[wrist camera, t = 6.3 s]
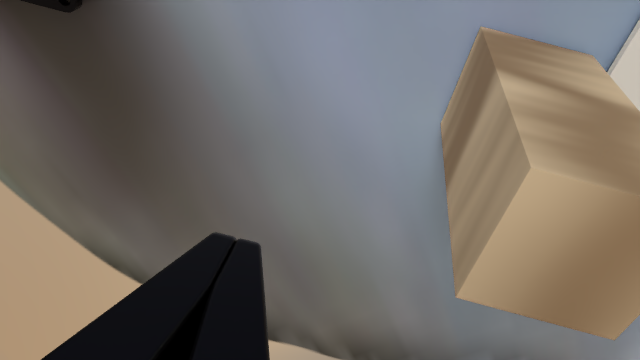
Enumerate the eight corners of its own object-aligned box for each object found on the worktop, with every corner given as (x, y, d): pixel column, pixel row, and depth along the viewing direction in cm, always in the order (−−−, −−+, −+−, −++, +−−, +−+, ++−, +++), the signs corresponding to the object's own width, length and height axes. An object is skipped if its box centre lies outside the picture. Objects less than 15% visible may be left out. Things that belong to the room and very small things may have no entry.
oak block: (440, 123, 19) (455, 297, 12) (480, 26, 16) (531, 167, 9) (538, 149, 19) (614, 339, 12) (592, 55, 16) (731, 220, 9)
